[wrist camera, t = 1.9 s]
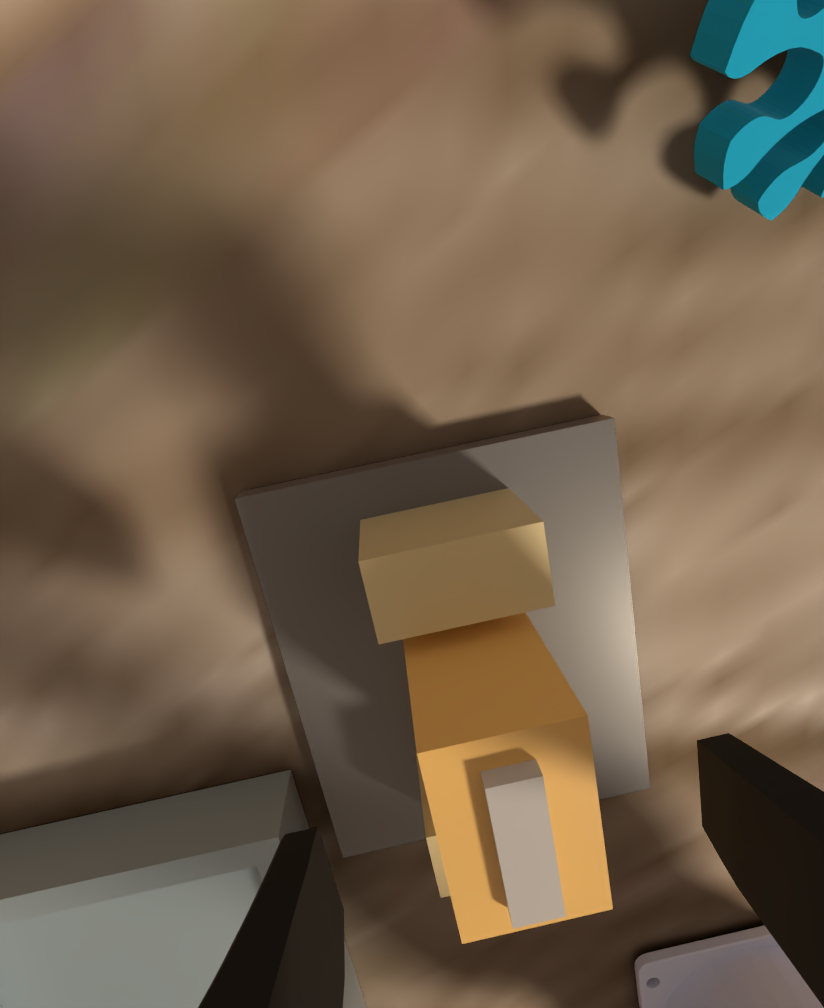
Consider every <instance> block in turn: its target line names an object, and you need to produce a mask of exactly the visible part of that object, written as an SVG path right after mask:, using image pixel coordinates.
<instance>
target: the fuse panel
mask: <svg viewBox="0 0 824 1008" xmlns="http://www.w3.org/2000/svg"><path fill="white" fill-rule="evenodd" d="M235 503H236V506H237V509H238V512H239V516H240V519H241V522H242V526H243V529H244V532H245V536H246V539H247V542H248V546H249V549H250V552H251V555H252V559H253V562H254V565H255V569H256V572H257V575H258V579H259V582H260V585H261V589H262V592H263V595H264V599H265V602H266V605H267V608H268V612H269V615H270V618H271V622H272V625H273V628H274V632H275V635H276V638H277V642H278V645H279V648H280V651H281V655H282V658H283V661H284V665H285V668H286V671H287V675H288V678H289V681H290V685H291V688H292V691H293V694H294V698H295V701H296V704H297V708H298V711H299V714H300V718H301V721H302V724H303V728H304V731H305V734H306V738H307V741H308V744H309V747H310V751H311V754H312V757H313V761H314V764H315V767H316V771H317V774H318V777H319V781H320V784H321V787H322V790H323V794H324V797H325V800H326V804H327V807H328V810H329V814H330V817H331V820H332V824H333V827H334V830H335V834H336V837H337V840H338V843H339V847H340V850H341V853H342V857H343V858H346V857H350V856H354V855H359V854H363V853H368V852H372V851H376V850H381V849H385V848H390V847H394V846H398V845H403V844H407V843H412V842H416V841H420V840H425V839H426V840H427V844H428V848H429V852H430V857H431V861H432V865H433V869H434V873H435V877H436V881H437V885H438V889H439V893H440V897H441V898H443V897H447V896H450V891H449V887H448V883H447V879H446V875H445V870H444V866H443V862H442V858H441V854H440V849H439V845H438V841H437V837H436V833H435V828H434V824H433V820H432V816H431V811H430V807H429V803H428V799H427V795H426V790H425V786H424V782H423V778H422V774H421V769H420V765H419V761H418V757H417V752H416V743H415V735H414V727H413V718H412V710H411V702H410V694H409V685H408V677H407V669H406V660H405V652H404V644H403V639H406V638H411V637H415V636H420V635H424V634H429V633H433V632H438V631H443V630H447V629H452V628H456V627H461V626H465V625H470V624H474V623H479V622H484V621H488V620H493V619H497V618H502V617H506V616H511V615H515V614H520V613H525V612H526V614H527V616H528V617H529V619H530V621H531V622H532V624H533V626H534V627H535V629H536V631H537V632H538V634H539V636H540V637H541V639H542V641H543V642H544V644H545V646H546V647H547V649H548V650H549V652H550V654H551V655H552V657H553V659H554V660H555V662H556V664H557V665H558V667H559V669H560V670H561V672H562V674H563V675H564V677H565V679H566V680H567V682H568V684H569V685H570V687H571V688H572V690H573V692H574V693H575V695H576V697H577V698H578V700H579V702H580V703H581V705H582V707H583V708H584V710H585V712H586V713H587V715H588V721H589V729H590V736H591V744H592V752H593V760H594V767H595V775H596V783H597V790H598V798H599V800H601V799H605V798H610V797H614V796H619V795H623V794H627V793H632V792H636V791H641V790H645V789H649V788H650V781H649V771H648V761H647V750H646V740H645V730H644V719H643V709H642V699H641V688H640V678H639V668H638V657H637V647H636V637H635V626H634V616H633V606H632V595H631V585H630V575H629V564H628V554H627V544H626V533H625V523H624V513H623V502H622V492H621V482H620V471H619V461H618V451H617V440H616V430H615V420H614V418H612V417H609V416H605V415H598V416H593V417H588V418H584V419H579V420H574V421H570V422H565V423H560V424H556V425H551V426H546V427H541V428H537V429H532V430H527V431H523V432H518V433H513V434H509V435H504V436H499V437H494V438H490V439H485V440H480V441H476V442H471V443H466V444H462V445H457V446H452V447H447V448H443V449H438V450H433V451H429V452H424V453H419V454H415V455H410V456H405V457H400V458H396V459H391V460H386V461H382V462H377V463H372V464H368V465H363V466H358V467H353V468H349V469H344V470H339V471H335V472H330V473H325V474H321V475H316V476H311V477H306V478H302V479H297V480H292V481H288V482H283V483H278V484H274V485H269V486H264V487H259V488H255V489H250V490H245V491H241V492H240V493H239V494H238V496H237V497H236V498H235Z"/></svg>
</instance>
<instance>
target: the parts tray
mask: <svg viewBox="0 0 824 1008" xmlns="http://www.w3.org/2000/svg"><path fill="white" fill-rule="evenodd" d="M306 829H310V828H309V825H308V822H307V819H306V816H305V813H304V810H303V806H302V803H301V800H300V797H299V794H298V791H297V788H296V784H295V781H294V778H293V775H292V772H291V770H287V771H282V772H278V773H273V774H269V775H265V776H260V777H256V778H251V779H247V780H242V781H238V782H233V783H229V784H224V785H220V786H215V787H211V788H206V789H202V790H197V791H193V792H188V793H184V794H180V795H175V796H171V797H166V798H162V799H157V800H153V801H148V802H144V803H139V804H135V805H130V806H126V807H121V808H117V809H112V810H108V811H103V812H99V813H94V814H90V815H86V816H81V817H77V818H72V819H68V820H63V821H59V822H54V823H50V824H45V825H41V826H36V827H32V828H27V829H23V830H18V831H14V832H9V833H5V834H0V1008H198V1007H199V1005H200V1003H201V1001H202V999H203V998H204V996H205V994H206V992H207V990H208V989H209V987H210V985H211V983H212V981H213V980H214V978H215V976H216V974H217V972H218V970H219V968H220V966H221V964H222V963H223V961H224V959H225V957H226V955H227V953H228V951H229V949H230V947H231V945H232V943H233V941H234V939H235V937H236V935H237V933H238V931H239V929H240V927H241V925H242V923H243V921H244V919H245V917H246V915H247V913H248V911H249V909H250V906H251V904H252V902H253V900H254V898H255V896H256V894H257V892H258V890H259V887H260V885H261V883H262V881H263V879H264V877H265V874H266V872H267V870H268V868H269V866H270V863H271V861H272V859H273V857H274V854H275V852H276V850H277V848H278V845H279V843H280V841H281V839H282V838H283V837H284V835H285V834H288V833H292V832H297V831H301V830H306ZM344 950H345V982H344V997H343V1008H366V1005H365V1002H364V998H363V995H362V992H361V989H360V986H359V983H358V980H357V976H356V973H355V970H354V967H353V964H352V961H351V957H350V954H349V951H348V948H347V945H346V942H345V939H344Z"/></svg>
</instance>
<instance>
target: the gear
mask: <svg viewBox="0 0 824 1008" xmlns="http://www.w3.org/2000/svg"><path fill="white" fill-rule="evenodd" d="M786 50H788V51H787V56H786V60H785V62H784V65H783V67H782V69H781V71H780V73H779V75H778V77H777V78H776V80H775V81H774V83H773V84H772V85H771V87H770V88H769V89H768V90H767V91H766V92H765V94H764V95H762V96H761V97H760V98H759V99H757V100H756V101H754V102H752V103H749V104H745V103H741V102H738V101H735V100H728V101H725V102H723V103H721V104H719V105H718V106H717V107H715V108H714V109H713V110H712V111H711V112H710V113H709V114H708V115H707V116H706V117H705V118H704V119H703V120H702V122H701V123H700V124H699V127H698V131H697V135H696V139H695V146H694V165H695V173H697V174H698V175H700V176H702V177H703V178H705V179H707V180H708V181H710V182H711V183H713V184H715V185H716V186H718V187H720V188H721V189H723V190H725V189H729V188H731V193H732V195H733V196H734V198H735V199H736V200H738V201H739V202H741V203H742V204H744V205H746V206H747V207H749V208H750V209H752V210H754V211H755V212H757V213H759V214H760V215H762V216H764V217H765V218H767V219H769V220H773V219H774V218H775V217H777V216H778V215H779V214H780V213H781V212H782V211H783V210H784V209H785V208H786V207H787V206H788V204H789V203H790V202H791V201H792V199H793V198H794V197H795V195H796V194H797V192H798V190H799V189H800V187H801V186H802V187H804V188H806V189H808V190H809V191H811V192H813V193H815V194H817V195H818V196H820V197H823V198H824V0H709V1H708V3H707V6H706V8H705V11H704V13H703V16H702V19H701V22H700V25H699V28H698V31H697V34H696V37H695V41H694V44H693V47H692V51H691V54H690V57H691V58H692V59H693V60H694V61H696V62H698V63H700V64H702V65H704V66H706V67H708V68H710V69H713V70H715V71H717V72H719V73H721V74H723V75H725V76H728V77H730V78H733V79H736V78H741V77H743V76H745V75H747V74H749V73H750V72H752V71H753V70H754V69H755V68H757V67H758V66H759V65H761V64H762V63H763V62H765V61H766V60H768V59H770V58H771V57H773V56H775V55H776V54H778V53H781V52H783V51H786ZM782 137H783V138H782ZM781 138H782V139H781ZM780 139H781V140H780ZM779 140H780V141H779Z"/></svg>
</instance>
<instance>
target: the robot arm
mask: <svg viewBox="0 0 824 1008" xmlns="http://www.w3.org/2000/svg"><path fill="white" fill-rule="evenodd" d="M697 748H698V764H699V780H700V796H701V812H702V826H703V828H704V830H705V832H706V834H707V835H708V837H709V839H710V841H711V842H712V844H713V846H714V848H715V850H716V851H717V853H718V855H719V857H720V858H721V860H722V862H723V864H724V865H725V867H726V869H727V870H728V872H729V874H730V875H731V877H732V879H733V880H734V882H735V884H736V886H737V887H738V888H739V890H740V891H741V893H742V894H743V896H744V897H745V898H746V900H747V901H748V903H749V904H750V906H751V907H752V908H753V910H754V911H755V913H756V914H757V915H758V917H759V918H760V920H761V921H762V922H763V924H764V926H760V927H755V928H751V929H747V930H742V931H738V932H734V933H730V934H725V935H721V936H717V937H712V938H708V939H704V940H700V941H695V942H691V943H687V944H682V945H678V946H674V947H670V948H665V949H661V950H657V951H652V952H648V953H645V954H642V955H640V956H639V957H638V958H637V960H636V961H635V975H636V983H637V991H638V1000H639V1008H824V792H823V791H821V790H820V789H818V788H816V787H815V786H813V785H812V784H810V783H808V782H807V781H805V780H803V779H802V778H800V777H799V776H797V775H795V774H794V773H792V772H790V771H789V770H787V769H786V768H784V767H782V766H781V765H779V764H778V763H776V762H774V761H773V760H771V759H770V758H768V757H766V756H765V755H763V754H762V753H760V752H758V751H757V750H755V749H754V748H752V747H750V746H749V745H747V744H746V743H744V742H742V741H741V740H739V739H737V738H736V737H734V736H732V735H731V734H729V733H728V734H723V735H719V736H714V737H710V738H706V739H701V740H697ZM344 982H345V950H344V909H343V906H342V903H341V900H340V896H339V893H338V890H337V887H336V884H335V880H334V877H333V874H332V871H331V868H330V865H329V861H328V858H327V855H326V852H325V849H324V845H323V842H322V839H321V836H320V833H319V830H318V827H314V828H310V829H306V830H301V831H297V832H292V833H288V834H285V835H284V837H283V838H282V839H281V841H280V843H279V845H278V848H277V850H276V852H275V854H274V857H273V859H272V861H271V863H270V866H269V868H268V870H267V872H266V874H265V877H264V879H263V881H262V883H261V885H260V887H259V890H258V892H257V894H256V896H255V898H254V900H253V902H252V904H251V906H250V909H249V911H248V913H247V915H246V917H245V919H244V921H243V923H242V925H241V927H240V929H239V931H238V933H237V935H236V937H235V939H234V941H233V943H232V945H231V947H230V949H229V951H228V953H227V955H226V957H225V959H224V961H223V963H222V964H221V966H220V968H219V970H218V972H217V974H216V976H215V978H214V980H213V981H212V983H211V985H210V987H209V989H208V990H207V992H206V994H205V996H204V998H203V999H202V1001H201V1003H200V1005H199V1007H198V1008H343V997H344Z"/></svg>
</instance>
